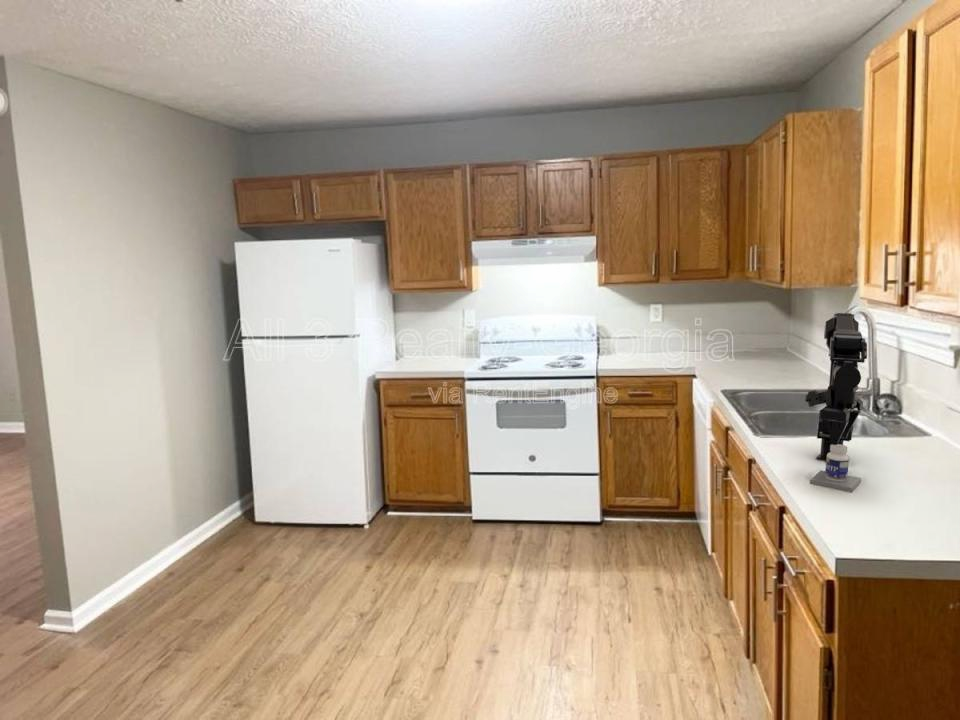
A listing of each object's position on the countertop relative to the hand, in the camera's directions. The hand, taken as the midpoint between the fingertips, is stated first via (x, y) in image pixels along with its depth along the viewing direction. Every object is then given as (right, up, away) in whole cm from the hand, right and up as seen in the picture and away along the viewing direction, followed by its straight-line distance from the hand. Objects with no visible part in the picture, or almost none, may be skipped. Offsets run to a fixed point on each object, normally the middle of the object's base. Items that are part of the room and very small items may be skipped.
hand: (839, 440), depth 184 cm
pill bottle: (0, -10, +2) cm, 11 cm away
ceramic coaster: (0, -11, +2) cm, 12 cm away
